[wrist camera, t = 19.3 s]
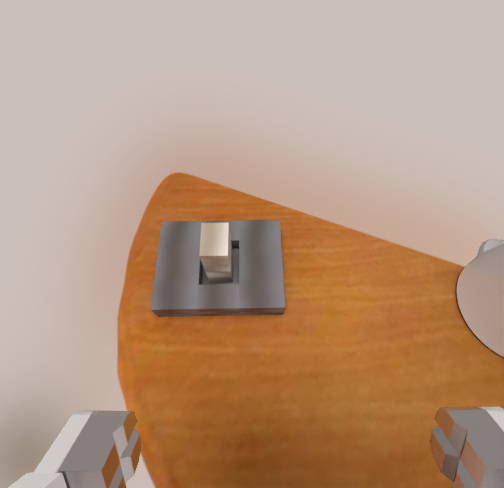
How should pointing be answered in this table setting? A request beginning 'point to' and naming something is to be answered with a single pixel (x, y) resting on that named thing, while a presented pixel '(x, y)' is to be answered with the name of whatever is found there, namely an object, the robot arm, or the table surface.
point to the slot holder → (219, 294)
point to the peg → (217, 252)
